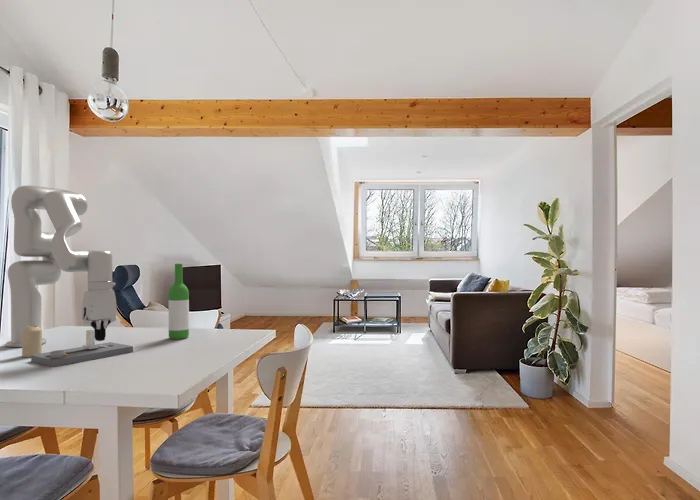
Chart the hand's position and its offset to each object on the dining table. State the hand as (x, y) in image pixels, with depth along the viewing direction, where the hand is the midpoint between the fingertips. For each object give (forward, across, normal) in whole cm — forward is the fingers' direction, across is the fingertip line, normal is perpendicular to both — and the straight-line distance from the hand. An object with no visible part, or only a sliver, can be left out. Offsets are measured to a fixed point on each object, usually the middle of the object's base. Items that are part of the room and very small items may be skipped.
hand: (100, 340), depth 163 cm
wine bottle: (+5, -34, -3) cm, 34 cm away
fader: (+2, +3, 0) cm, 4 cm away
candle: (+5, +14, -16) cm, 22 cm away
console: (+5, +5, 0) cm, 7 cm away
